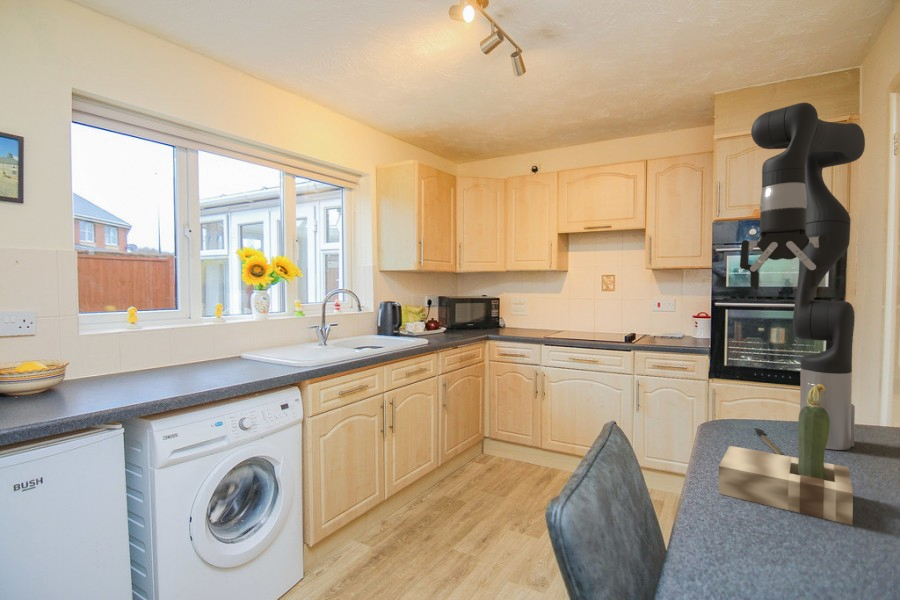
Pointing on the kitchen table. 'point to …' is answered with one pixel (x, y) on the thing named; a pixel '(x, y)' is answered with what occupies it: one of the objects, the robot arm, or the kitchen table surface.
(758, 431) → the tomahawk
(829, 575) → the kitchen table surface
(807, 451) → the vegetable
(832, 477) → the wooden block with hole
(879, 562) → the kitchen table surface
